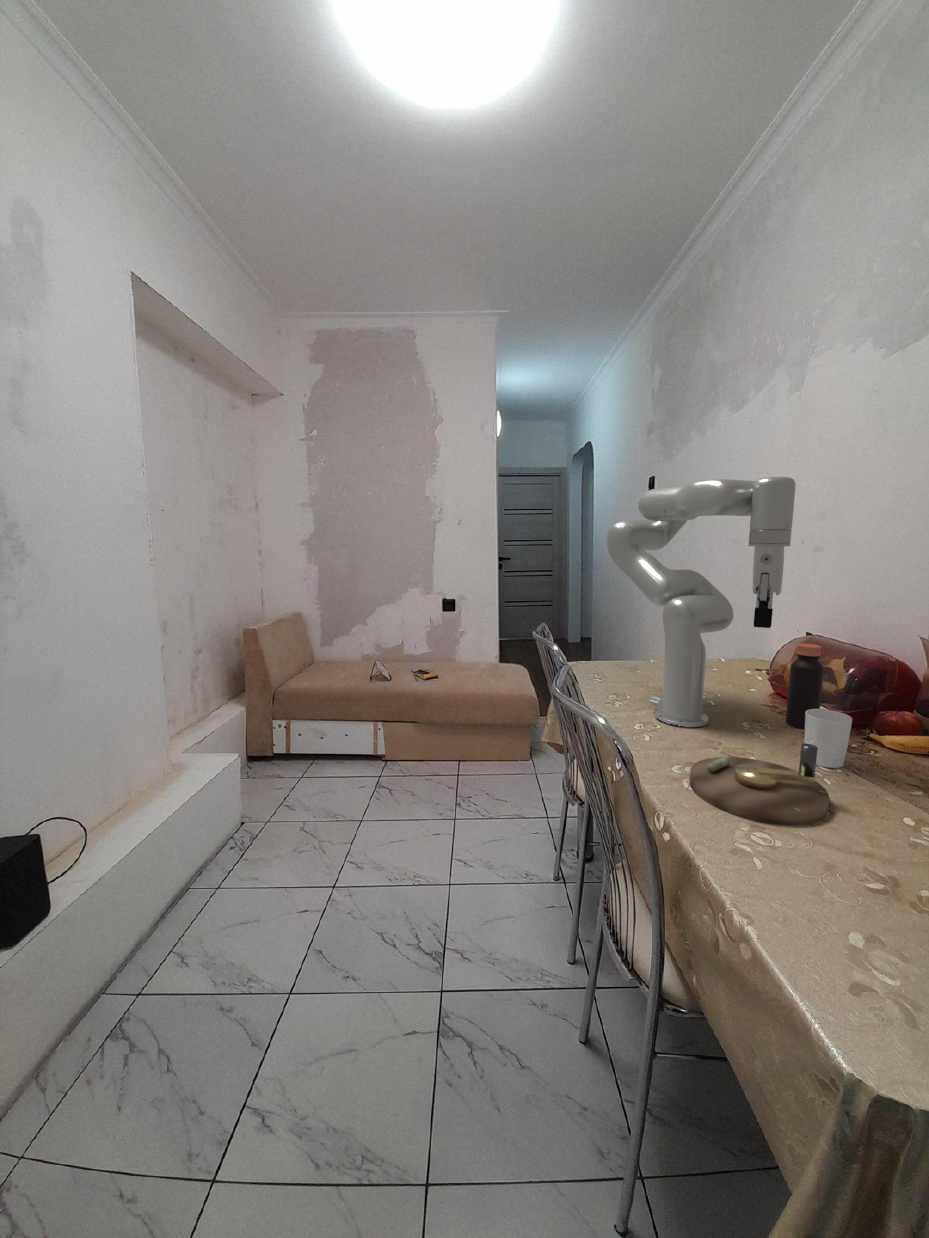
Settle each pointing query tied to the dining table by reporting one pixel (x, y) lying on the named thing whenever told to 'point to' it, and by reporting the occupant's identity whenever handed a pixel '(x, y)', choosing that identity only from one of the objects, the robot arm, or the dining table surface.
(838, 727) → the white cup
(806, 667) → the bottle
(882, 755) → the dining table surface
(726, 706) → the dining table surface
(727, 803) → the base plate
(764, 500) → the robot arm
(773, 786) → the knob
